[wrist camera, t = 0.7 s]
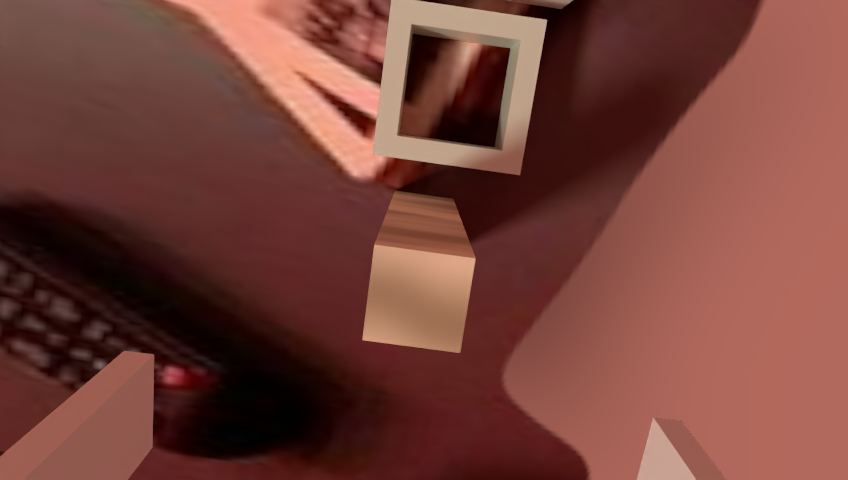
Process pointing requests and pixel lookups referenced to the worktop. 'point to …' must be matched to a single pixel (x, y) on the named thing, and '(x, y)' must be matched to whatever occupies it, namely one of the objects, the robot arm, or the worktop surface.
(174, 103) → the worktop surface
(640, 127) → the worktop surface
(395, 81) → the cream square open box
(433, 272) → the wooden square peg
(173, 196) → the worktop surface
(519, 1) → the white box with opening
